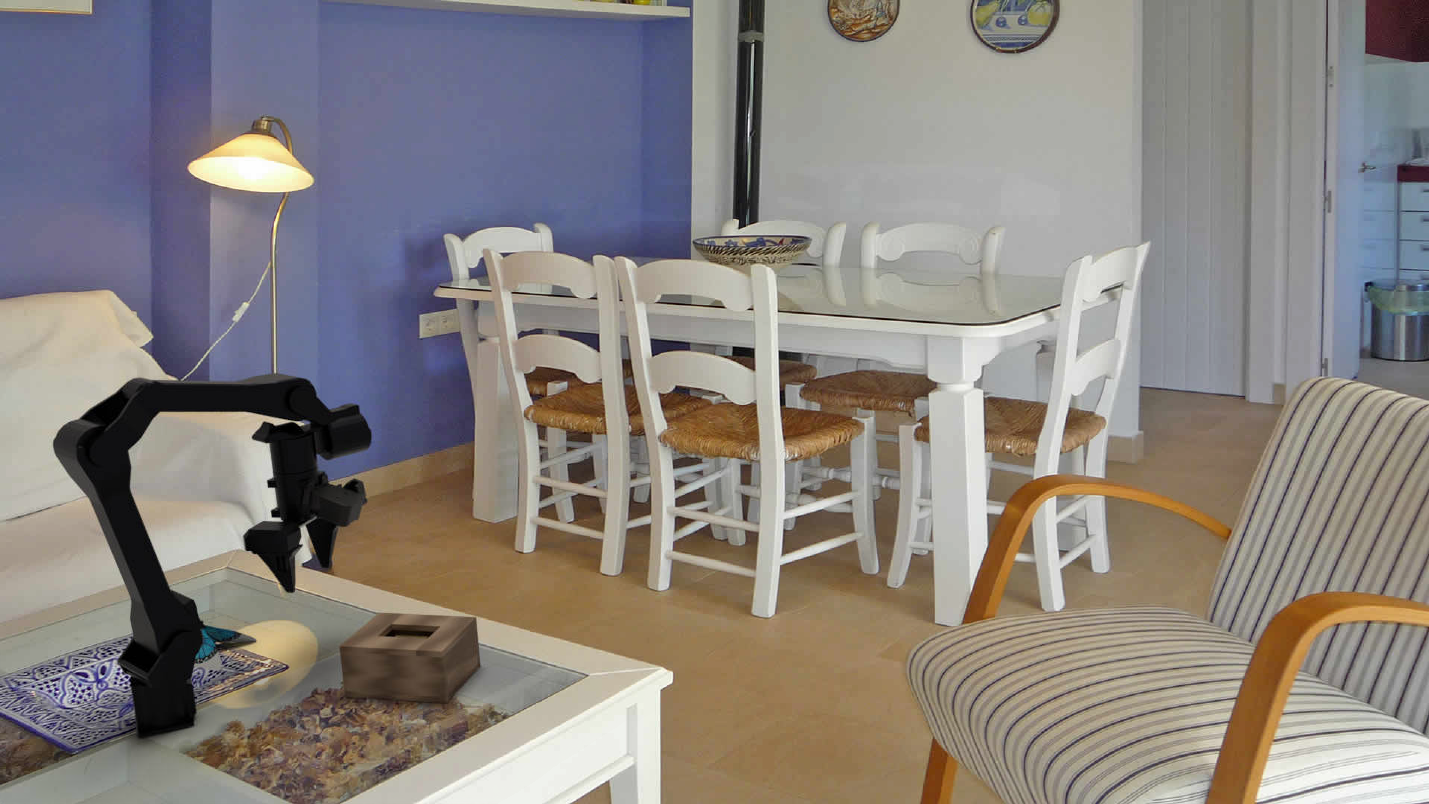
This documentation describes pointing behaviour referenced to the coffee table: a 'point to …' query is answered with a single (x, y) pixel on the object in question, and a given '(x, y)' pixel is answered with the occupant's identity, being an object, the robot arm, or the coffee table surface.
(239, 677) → the coffee table surface
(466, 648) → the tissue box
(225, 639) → the decorative butterfly
